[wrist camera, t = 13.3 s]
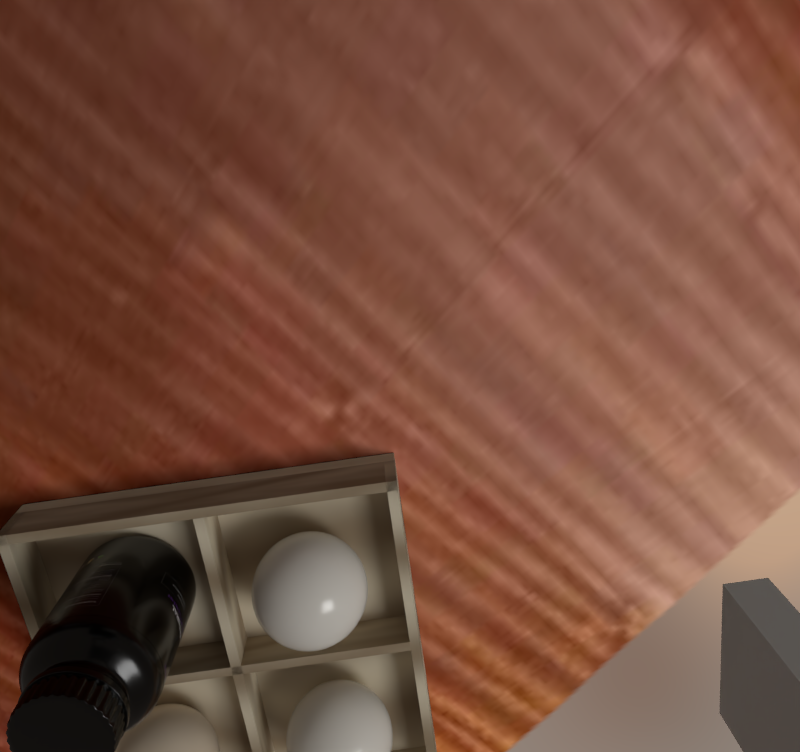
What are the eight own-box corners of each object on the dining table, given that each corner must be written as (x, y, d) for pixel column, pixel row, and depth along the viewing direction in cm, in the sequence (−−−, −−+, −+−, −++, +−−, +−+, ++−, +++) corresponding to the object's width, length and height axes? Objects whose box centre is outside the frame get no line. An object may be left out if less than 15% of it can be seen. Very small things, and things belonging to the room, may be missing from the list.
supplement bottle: (222, 593, 44) (172, 756, 32) (132, 646, 45) (53, 823, 33) (149, 509, 42) (69, 652, 30) (57, 566, 43) (-55, 726, 31)
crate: (22, 504, 42) (-6, 536, 39) (393, 452, 42) (396, 480, 39) (118, 784, 50) (101, 831, 46) (435, 739, 50) (440, 783, 46)
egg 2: (250, 518, 42) (231, 584, 36) (358, 502, 42) (359, 566, 36) (270, 609, 44) (256, 685, 38) (374, 594, 44) (376, 669, 38)
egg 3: (282, 664, 46) (271, 746, 40) (383, 650, 46) (387, 730, 40) (300, 742, 48) (291, 831, 42) (396, 728, 48) (401, 815, 42)
